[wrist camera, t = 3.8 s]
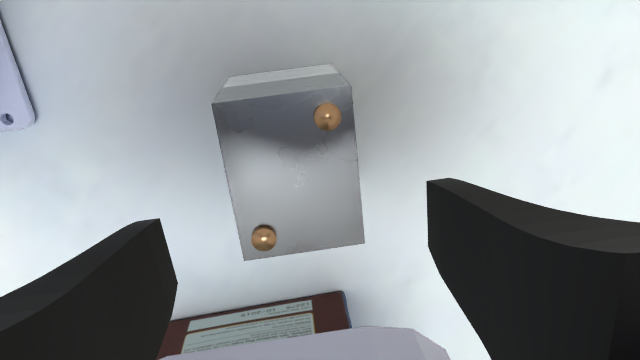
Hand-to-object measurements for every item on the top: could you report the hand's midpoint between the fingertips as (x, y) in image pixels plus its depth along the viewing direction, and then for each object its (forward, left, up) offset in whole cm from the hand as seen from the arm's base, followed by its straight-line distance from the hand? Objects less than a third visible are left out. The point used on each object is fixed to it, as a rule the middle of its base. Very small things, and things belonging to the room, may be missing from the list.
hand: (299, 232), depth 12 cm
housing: (0, 0, -10) cm, 10 cm away
